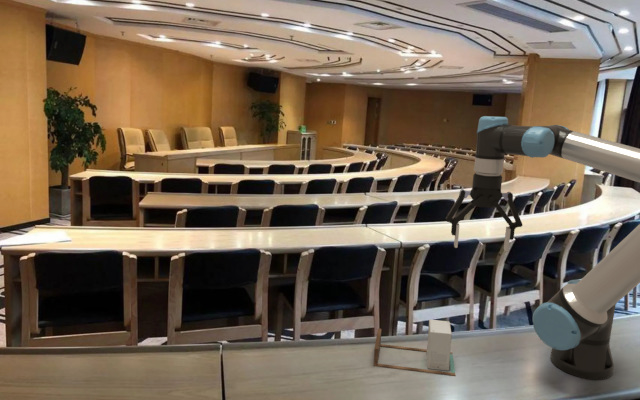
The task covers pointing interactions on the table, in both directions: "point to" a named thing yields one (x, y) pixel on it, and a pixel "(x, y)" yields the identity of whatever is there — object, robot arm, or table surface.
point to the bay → (378, 345)
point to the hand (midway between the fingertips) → (480, 248)
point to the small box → (439, 345)
